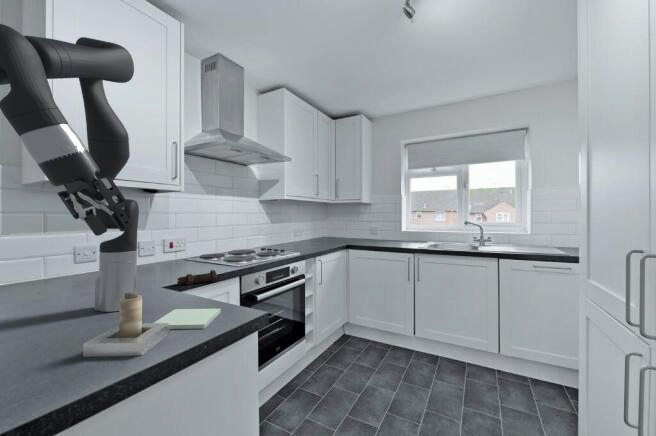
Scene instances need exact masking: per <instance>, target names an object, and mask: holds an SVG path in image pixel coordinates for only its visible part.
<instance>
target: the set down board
mask: <svg viewBox="0 0 656 436" xmlns="http://www.w3.org/2000/svg"><path fill="white" fill-rule="evenodd" d="M221 312H222V311H221V308H175V309H173V310H171V311H170V312H168V313H167V314H165V315H163V316H162V317H160V318H159V319H158V320H156V321H154V322H153V323H169V330H186V329H187V330H188V329H190V330H193V329H199V330H201V329H203V330H204V329H205V328H207V326H209V325H210V324H211V322H212V321H213V320H215V318H216V317H218V315H219V314H221Z"/></svg>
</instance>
